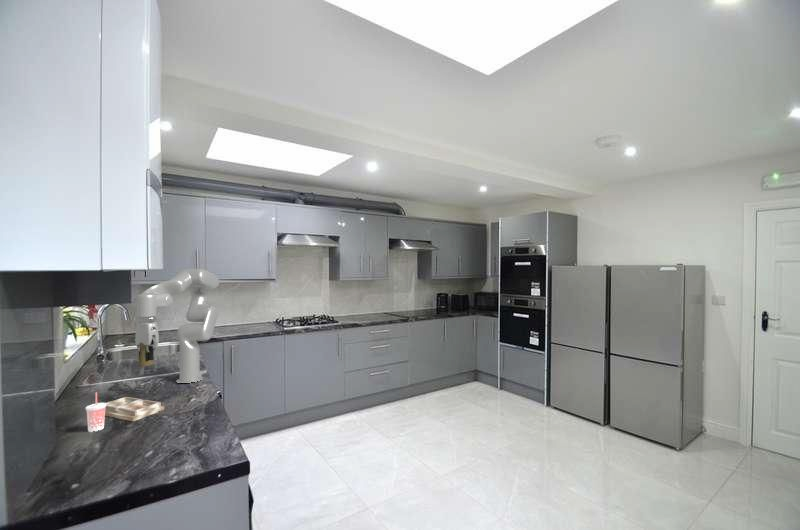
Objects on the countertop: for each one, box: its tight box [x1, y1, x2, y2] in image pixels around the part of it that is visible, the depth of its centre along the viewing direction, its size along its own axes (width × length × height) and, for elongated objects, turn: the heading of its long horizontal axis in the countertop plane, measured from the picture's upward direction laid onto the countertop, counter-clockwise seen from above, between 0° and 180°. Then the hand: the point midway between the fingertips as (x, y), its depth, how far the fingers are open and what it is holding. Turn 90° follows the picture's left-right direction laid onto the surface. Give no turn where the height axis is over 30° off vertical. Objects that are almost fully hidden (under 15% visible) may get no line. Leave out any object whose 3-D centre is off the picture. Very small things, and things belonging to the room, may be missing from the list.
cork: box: [137, 343, 155, 367], centre depth 165 cm, size 6×6×11 cm
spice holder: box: [105, 396, 165, 422], centre depth 153 cm, size 13×24×4 cm, turn 69°
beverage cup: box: [85, 392, 107, 433], centre depth 136 cm, size 6×6×14 cm
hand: (146, 359), depth 165 cm, fingers closed on cork, 4 cm apart
